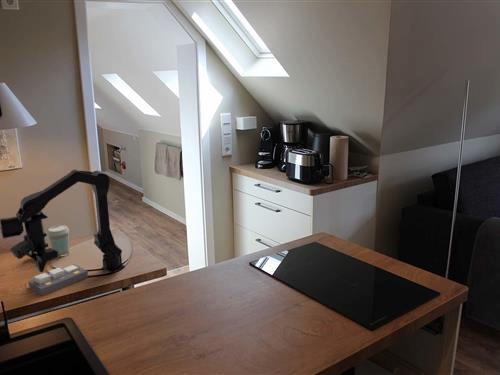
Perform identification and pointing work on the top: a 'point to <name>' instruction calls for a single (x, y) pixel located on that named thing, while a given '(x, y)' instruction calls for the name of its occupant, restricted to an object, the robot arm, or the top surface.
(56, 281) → the button board
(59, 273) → the middle button
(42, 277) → the button
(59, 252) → the coffee cup
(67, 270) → the button
